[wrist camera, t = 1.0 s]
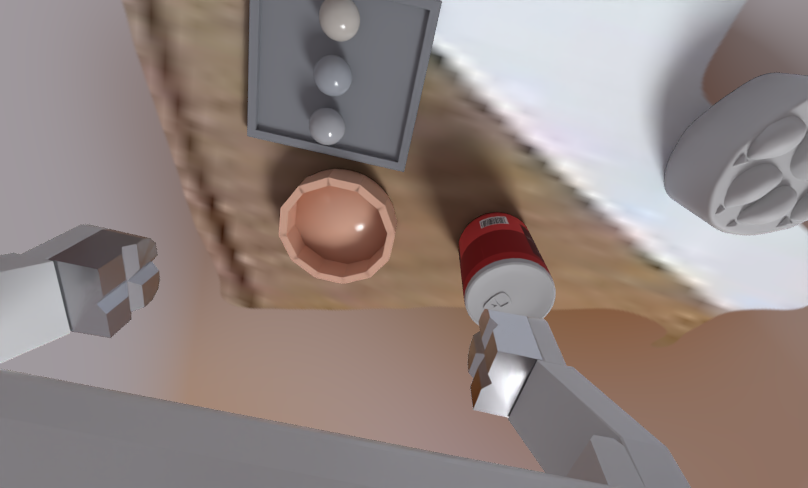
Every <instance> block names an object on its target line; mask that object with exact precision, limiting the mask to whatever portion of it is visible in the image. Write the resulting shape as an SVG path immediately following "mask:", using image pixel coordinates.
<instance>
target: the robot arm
mask: <svg viewBox="0 0 808 488" xmlns="http://www.w3.org/2000/svg"><path fill="white" fill-rule="evenodd" d="M157 255H158V254H157V248H156V243H155V242H154V241H153V240H152V239H151V238H147V237H142V236H138V235H133V234H129V233H125V232H121V231H116V230H112V229H107V228H103V227H98V226H93V225H79V226H77V227H75V228H73V229H71V230H69V231H67V232H65V233H63V234H61V235H59V236H57V237H55V238H53V239H51V240H49V241H47V242H45V243H43V244H41V245H39V246H37V247H35V248H33V249H31V250H29V251H27V252H25V253H23V254H16V253H10V254H5V255H0V363H3V362H5V361H7V360H10V359H12V358H14V357H17V356H19V355H21V354H24V353H26V352H28V351H30V350H33V349H35V348H38V347H40V346H42V345H45V344H47V343H49V342H51V341H54V340H56V339H58V338H61V337H63V336H65V335H68V334H70V333H71V332H70V331H72V332H78V333H84V334H90V335H96V336H101V337H107V338H111V337H112V336H113V335H114V334H115V333H117V332H118V331H119V330H120V329H121V328H122V327H123V326H124V325H125V324H127V323H128V322H129V321H130V320H131V312H133V311H136V310H138V309H141V308H144V307H145V306H146V305H148V304H149V302H151V301H152V300H153V298H154V296H155V294H156V292H157V290H158V288H159V282H160V275H159V270H158V269H157V267H156V266H155V265H154V264H153V262H152V261H153V260H154V259H155V257H156V256H157ZM479 327H480V331H479V332H478V333H476V334H475V335H473V338H472V341H471V344H470V348H469V353H468V372H469V374H470V375H471V376H472V377H473V381H472V384H471V386H470V389H471V397H472V404H473V410H477V411H482V412H486V413H491V414H495V415H499V416H504V417H508V420H509V421H510V423H511V424H512V425H513V427H514V428H515V430H516V431H517V433H518V434H519V435H520V437H521V438H522V440H523V441H524V443H525V444H526V446H527V447H528V448H529V450H530V451H531V453H532V454H533V455H534V457H535V458H536V460H537V461H538V463H539V464H540V466H541V467H542V468H543V470H544V471H545V473H543V472H538V471H533V470H528V469H522V468H517V467H512V466H507V465H501V464H496V463H491V462H485V461H480V460H474V459H469V458H464V457H459V456H453V455H447V454H442V453H437V452H432V451H427V450H422V449H417V448H412V447H406V446H401V445H396V444H391V443H386V442H381V441H376V440H370V439H365V438H360V437H355V436H350V435H345V434H340V433H334V432H329V431H324V430H319V429H314V428H309V427H303V426H298V425H293V424H287V423H283V422H277V421H272V420H267V419H262V418H256V417H251V416H245V415H241V414H235V413H230V412H225V411H220V410H214V409H209V408H204V407H199V406H193V405H188V404H183V403H178V402H172V401H167V400H162V399H156V398H152V397H146V396H141V395H136V394H131V393H125V392H120V391H115V390H110V389H104V388H99V387H93V386H89V385H83V384H78V383H73V382H67V381H62V380H57V379H52V378H47V377H42V376H36V375H31V374H26V373H21V372H16V371H11V370H5V369H0V488H691V487H690V485H689V483H688V482H687V480H686V479H685V477H684V475H683V473H682V472H681V470H680V468H679V467H678V465H677V463H676V461H675V460H674V458H673V456H672V455H671V453H670V451H669V450H668V448H667V447H666V446H665V445H663V444H662V443H661V442H660V441H659V440H658V439H656V438H655V437H654V436H653V435H652V434H650V433H649V432H648V431H647V430H646V429H645V428H644V427H642V426H641V425H640V424H639V423H638V422H636V421H635V420H634V419H633V418H632V417H631V416H630V415H628V414H627V413H626V412H625V411H624V410H622V409H621V408H620V407H619V406H618V405H617V404H615V403H614V402H613V401H612V400H611V399H610V398H608V397H607V396H606V395H605V394H604V393H603V392H601V391H600V390H599V389H598V388H597V387H596V386H594V385H593V384H592V383H591V382H590V381H588V380H587V379H586V378H585V377H584V376H583V375H581V374H580V373H579V372H578V371H577V370H576V369H575V368H573V367H570V366H566V363H565V361H564V359H563V356H562V354H561V352H560V350H559V347H558V345H557V343H556V341H555V338H554V336H553V334H552V332H551V329H550V327H549V325H548V322H547V321H545V320H544V319H540V318H534V317H529V316H521V315H516V314H511V313H505V312H500V311H495V310H489V309H484V311H483V312H482V314H481V316H480V319H479Z"/></svg>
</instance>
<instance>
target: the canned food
mask: <svg viewBox="0 0 808 488" xmlns="http://www.w3.org/2000/svg"><path fill="white" fill-rule="evenodd" d="M458 249H459V259H460V268H461V277H462V286H463V295H464V301H465V306H466V309H467V312H468V314H469V316H470V317H471V319H472V320H473V321H474V322H475V323H476V324H478V325H479V319H480V316H481V314H482V312H483V311H484V309H489V310H495V311H500V312H505V313H511V314H516V315H521V316H529V317H534V318H540V319H543V318H544V317H545V316H546V315H547V314H548V313H549V311H550V310H551V308H552V306H553V304H554V300H555V292H556V291H555V286H554V282H553V279H552V277H551V275H550V272H549V270H548V269H547V267H546V265H545V263H544V261H543V259H542V257H541V255H540V253H539V251H538V249H537V247H536V245H535V243H534V241H533V239H532V237H531V235H530V233H529V231H528V229H527V227H526V226H525V224H524V223H523V222H522V221H520V220H519V219H518V218H516V217H514V216H512V215H509V214H506V213H498V212H495V213H488V214H485V215H482V216H480V217H478V218H476V219H475V220H473V221H472V222H471V223H470V224H469V225H468V226H467V227H466V228H465V230H464V231H463V233H462V235H461V237H460V240H459V246H458Z"/></svg>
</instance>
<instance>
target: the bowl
mask: <svg viewBox="0 0 808 488" xmlns="http://www.w3.org/2000/svg"><path fill="white" fill-rule="evenodd" d="M396 227H397V219H396V216H395V211H394V207H393V205H392V202H391V200H390V199H389V197H388V195H387V194H386V192H385V191H384V190H383V189H382V188H381V187H380V186H379V185H378V184H377V183H376V182H375V181H373V180H372V179H370V178H369V177H367V176H365V175H363V174H361V173H358V172H355V171H352V170H347V169H328V170H324V171H321V172H318V173H315V174H314V175H312V176H308V177H306V178H305V179H304V181H303V182H302V183H301V184H300V185H299V186H298V187H297V188H296V190H295V191H294V192H293V193H292V195H291V196H290V197H289V198H288V200H287V201H286V202H285V203H284V204H283V206H282V207H281V209H280V224H279V237H280V239H281V241H282V242H283V244H284V246H285V248H286V250H287V252H288V254H289V256H290V258H291V260H292V261H293V262H295V263H296V264H297V265H299V266H300V267H301V268H303V269H304V270H305V271H307V272H308V273H310V274H311V275H312V276H314V277H315V278H319V279H323V280H328V281H333V282H337V283H342V284H345V283H349V282H353V281H358V280H362V279H366V278H370V277H371V276H372V275H373V274H374V273H376V272H377V271H378V270H379V269H380V268H381V267H382V266H383V265H384V264H385V263H386V262H387V261H388V260H389V259H390V254H391V250H392V245H393V241H394V237H395V232H396Z"/></svg>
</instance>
